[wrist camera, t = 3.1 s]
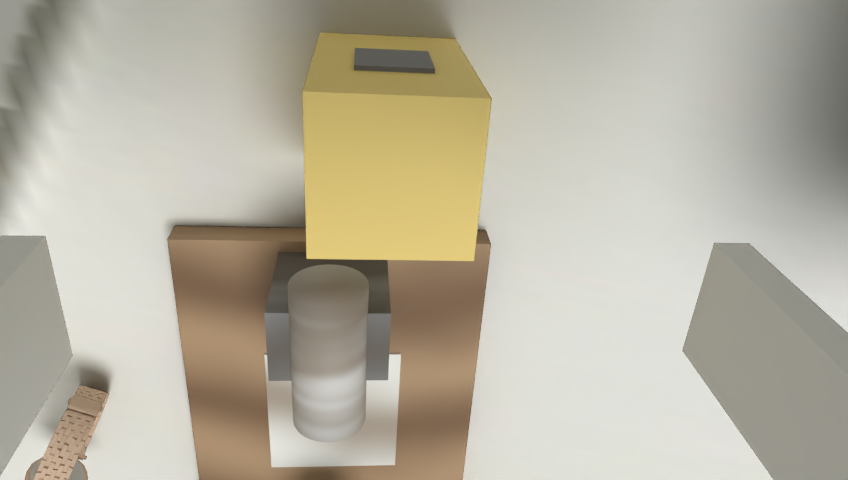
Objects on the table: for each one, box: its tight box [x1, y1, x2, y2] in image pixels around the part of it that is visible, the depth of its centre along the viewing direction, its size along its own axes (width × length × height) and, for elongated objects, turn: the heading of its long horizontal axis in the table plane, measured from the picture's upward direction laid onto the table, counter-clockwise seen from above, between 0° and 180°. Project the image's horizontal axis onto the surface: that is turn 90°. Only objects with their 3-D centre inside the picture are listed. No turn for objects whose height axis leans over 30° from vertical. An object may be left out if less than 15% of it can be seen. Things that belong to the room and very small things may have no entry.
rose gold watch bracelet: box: [25, 385, 109, 480], centre depth 29 cm, size 3×5×5 cm, turn 152°
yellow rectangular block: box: [303, 32, 492, 261], centre depth 22 cm, size 5×5×8 cm
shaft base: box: [167, 226, 491, 480], centre depth 29 cm, size 19×13×7 cm
